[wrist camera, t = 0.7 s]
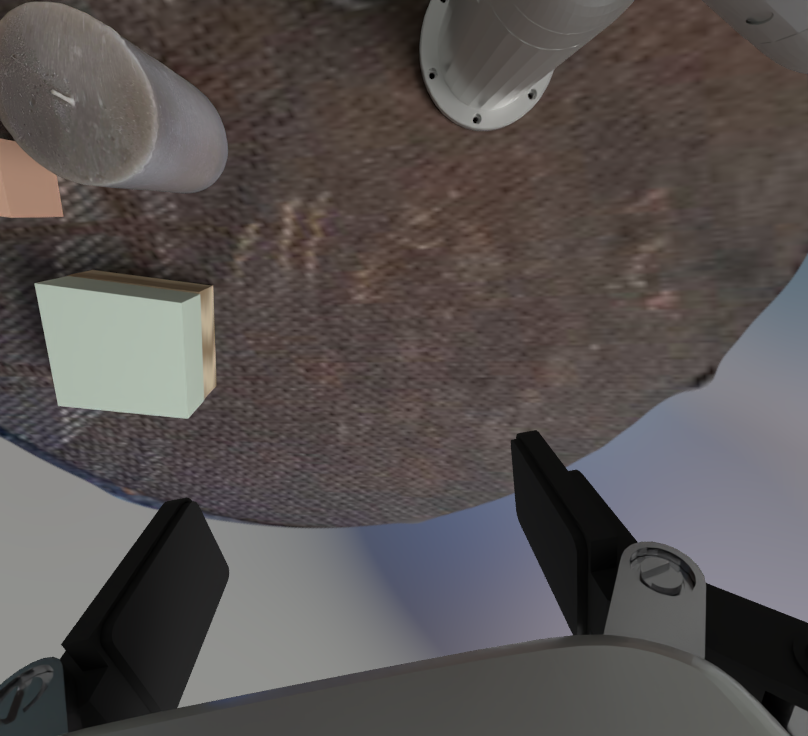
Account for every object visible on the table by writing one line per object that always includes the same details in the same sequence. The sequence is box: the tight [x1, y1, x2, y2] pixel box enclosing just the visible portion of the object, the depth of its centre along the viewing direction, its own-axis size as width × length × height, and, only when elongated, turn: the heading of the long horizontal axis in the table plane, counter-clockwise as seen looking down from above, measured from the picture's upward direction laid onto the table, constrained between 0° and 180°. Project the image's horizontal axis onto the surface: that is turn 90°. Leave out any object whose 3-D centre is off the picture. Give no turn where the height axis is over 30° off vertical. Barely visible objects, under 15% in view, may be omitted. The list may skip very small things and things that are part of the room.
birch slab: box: [67, 270, 216, 399], centre depth 41 cm, size 12×12×4 cm
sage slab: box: [34, 276, 204, 419], centre depth 38 cm, size 12×12×4 cm
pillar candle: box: [0, 2, 228, 193], centre depth 29 cm, size 10×10×15 cm
